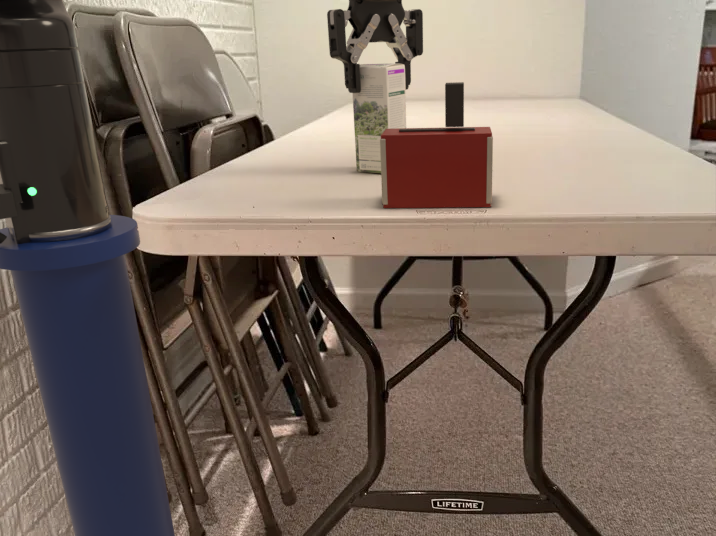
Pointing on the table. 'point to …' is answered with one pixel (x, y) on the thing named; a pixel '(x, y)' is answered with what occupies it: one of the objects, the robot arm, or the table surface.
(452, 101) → the block
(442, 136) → the toaster
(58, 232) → the robot arm
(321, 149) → the table surface
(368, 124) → the syrup box
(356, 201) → the table surface
